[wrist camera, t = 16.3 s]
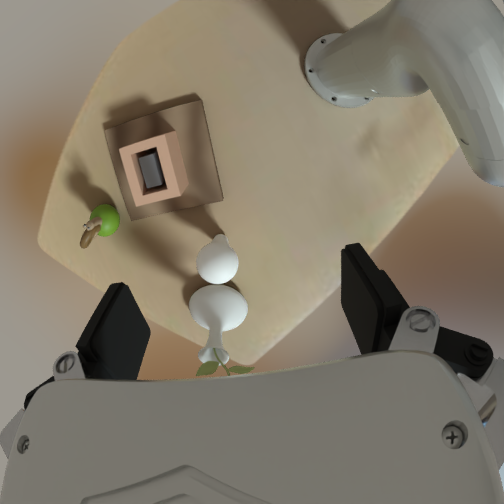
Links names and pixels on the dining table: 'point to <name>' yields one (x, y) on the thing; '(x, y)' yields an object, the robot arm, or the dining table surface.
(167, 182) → the tan rectangular frame
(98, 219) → the snail figurine
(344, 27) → the dining table surface
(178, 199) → the hub plate
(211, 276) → the lightbulb
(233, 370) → the flower in vase
